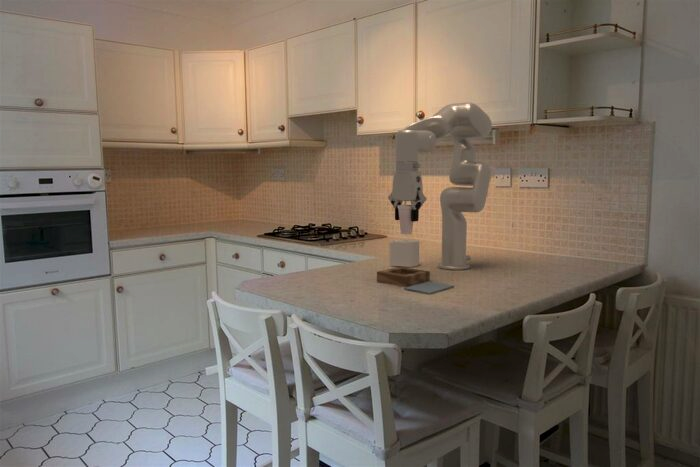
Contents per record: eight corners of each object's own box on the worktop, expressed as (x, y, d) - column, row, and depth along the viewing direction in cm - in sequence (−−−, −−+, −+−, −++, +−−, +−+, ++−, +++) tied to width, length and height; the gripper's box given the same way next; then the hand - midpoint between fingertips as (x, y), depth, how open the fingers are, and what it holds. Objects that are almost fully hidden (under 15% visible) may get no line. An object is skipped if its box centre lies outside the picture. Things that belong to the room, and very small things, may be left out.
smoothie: (393, 233, 186) (394, 192, 184) (410, 232, 188) (411, 192, 186) (401, 235, 180) (402, 193, 178) (419, 234, 182) (419, 192, 180)
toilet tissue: (422, 263, 222) (422, 239, 220) (413, 268, 211) (413, 243, 210) (398, 261, 226) (398, 238, 225) (387, 266, 215) (387, 241, 214)
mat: (429, 283, 184) (429, 281, 184) (454, 287, 177) (454, 285, 177) (403, 289, 174) (404, 287, 174) (429, 294, 167) (429, 292, 167)
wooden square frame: (400, 276, 196) (400, 266, 195) (429, 281, 187) (429, 271, 186) (376, 281, 186) (376, 271, 186) (406, 287, 177) (406, 276, 177)
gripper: (434, 167, 177) (433, 221, 180) (394, 167, 189) (393, 218, 192) (421, 167, 172) (420, 223, 174) (380, 167, 184) (380, 219, 186)
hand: (406, 220), depth 183 cm, fingers closed on smoothie, 6 cm apart
